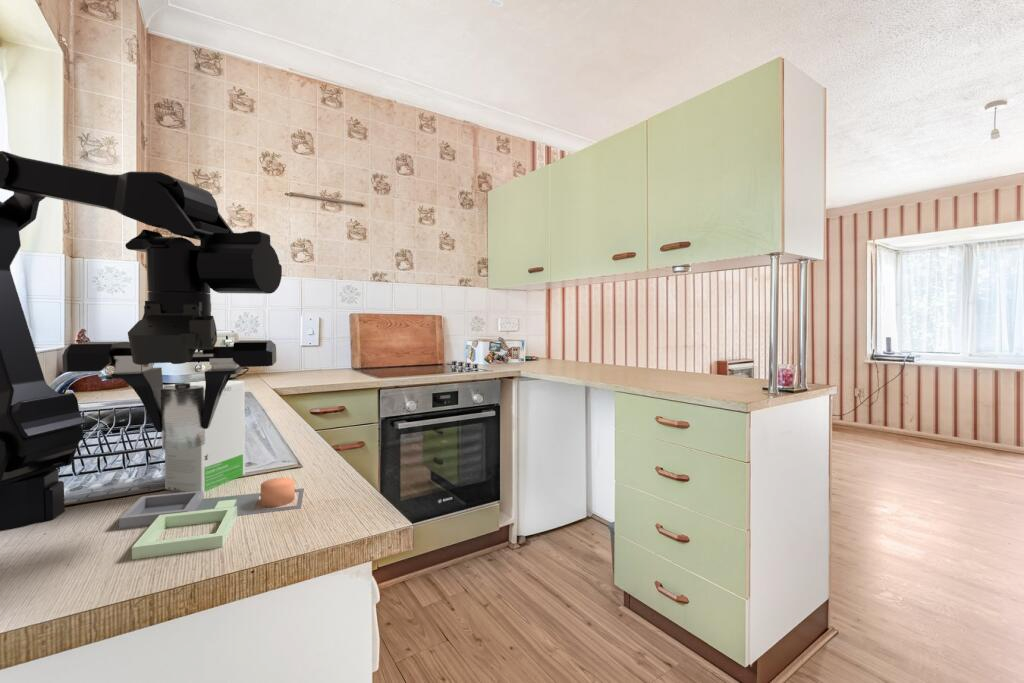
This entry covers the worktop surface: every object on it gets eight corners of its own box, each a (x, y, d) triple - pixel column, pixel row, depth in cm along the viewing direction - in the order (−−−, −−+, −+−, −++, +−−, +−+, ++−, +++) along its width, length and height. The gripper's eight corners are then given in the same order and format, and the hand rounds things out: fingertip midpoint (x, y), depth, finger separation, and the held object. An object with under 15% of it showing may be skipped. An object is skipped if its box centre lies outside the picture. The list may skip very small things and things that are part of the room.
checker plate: (116, 538, 51) (115, 519, 51) (140, 512, 58) (140, 496, 57) (300, 515, 58) (300, 498, 58) (304, 495, 65) (304, 480, 64)
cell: (157, 451, 49) (155, 387, 49) (168, 442, 53) (166, 382, 52) (200, 448, 51) (199, 385, 50) (208, 439, 54) (207, 380, 54)
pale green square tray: (132, 568, 45) (131, 547, 45) (159, 533, 52) (159, 515, 52) (222, 555, 48) (222, 535, 48) (237, 523, 55) (237, 506, 55)
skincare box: (200, 500, 62) (199, 388, 61) (160, 495, 63) (159, 385, 62) (247, 479, 70) (247, 380, 69) (211, 475, 71) (211, 377, 70)
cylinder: (258, 509, 58) (258, 490, 57) (263, 497, 61) (263, 479, 61) (293, 505, 59) (293, 486, 59) (295, 493, 63) (295, 476, 63)
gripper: (25, 285, 40) (34, 459, 41) (265, 292, 47) (268, 440, 48) (86, 291, 50) (91, 430, 51) (275, 296, 57) (277, 417, 58)
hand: (183, 429), depth 52 cm, fingers closed on cell, 4 cm apart
